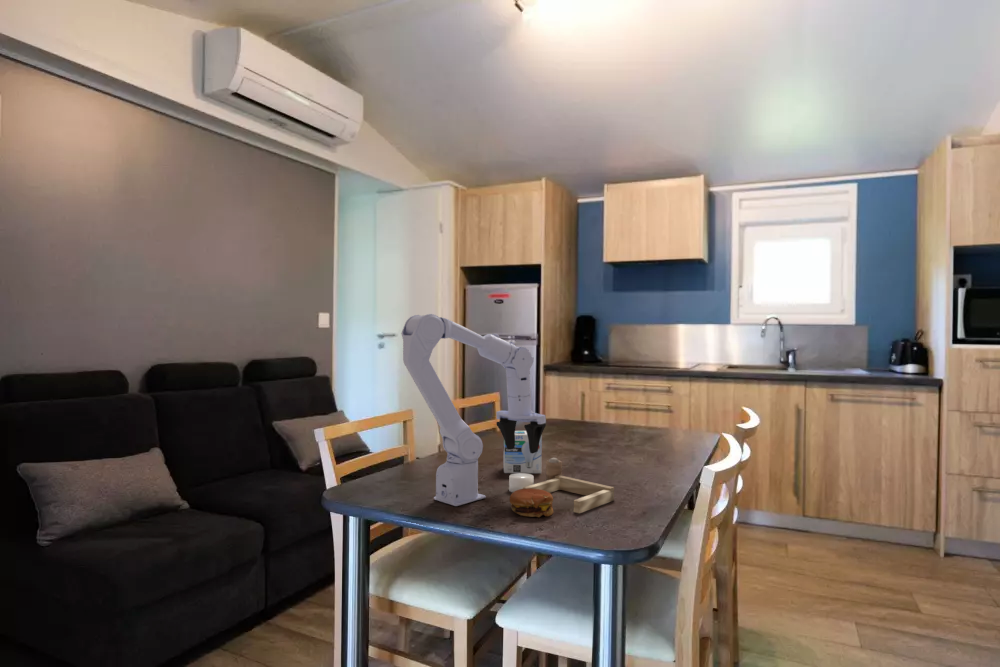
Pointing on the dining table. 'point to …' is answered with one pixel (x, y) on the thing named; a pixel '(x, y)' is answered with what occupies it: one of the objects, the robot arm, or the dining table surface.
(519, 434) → the light bulb box
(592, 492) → the bay
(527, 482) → the white dome
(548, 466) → the pepper mill
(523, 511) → the burger
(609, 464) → the dining table surface
